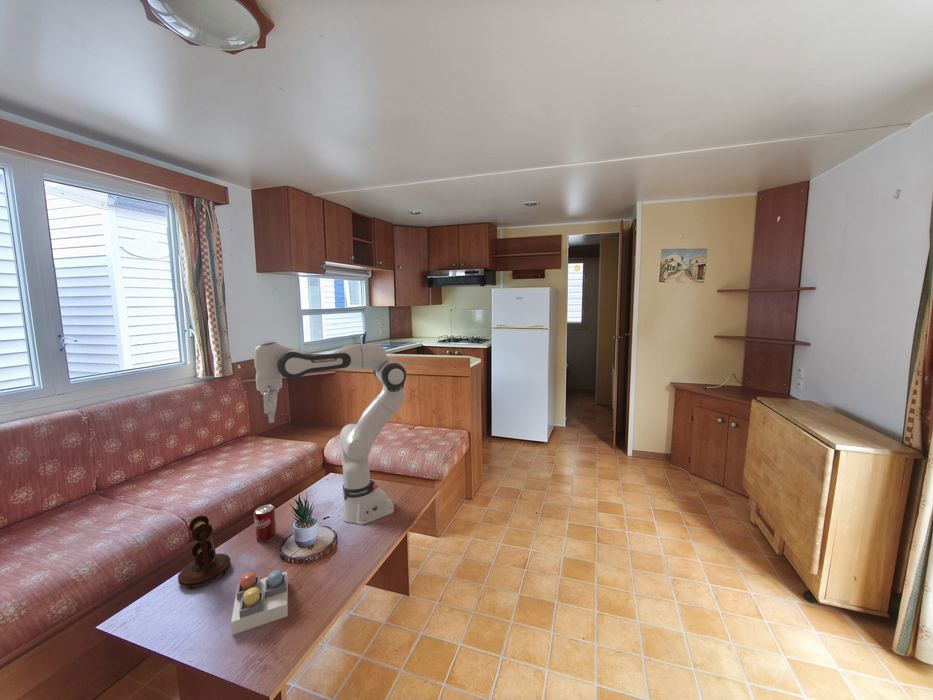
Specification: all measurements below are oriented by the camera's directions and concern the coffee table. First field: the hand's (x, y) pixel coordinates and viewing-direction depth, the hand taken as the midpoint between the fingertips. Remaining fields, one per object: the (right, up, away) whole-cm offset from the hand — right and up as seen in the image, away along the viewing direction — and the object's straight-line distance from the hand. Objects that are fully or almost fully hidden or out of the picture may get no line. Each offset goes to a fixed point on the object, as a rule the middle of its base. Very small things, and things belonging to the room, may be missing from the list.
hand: (272, 419), depth 144 cm
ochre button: (+14, -47, -37) cm, 61 cm away
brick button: (+9, -46, -30) cm, 56 cm away
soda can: (-4, -48, +3) cm, 48 cm away
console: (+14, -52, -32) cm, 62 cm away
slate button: (+17, -46, -30) cm, 57 cm away
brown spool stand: (-14, -51, -17) cm, 55 cm away
